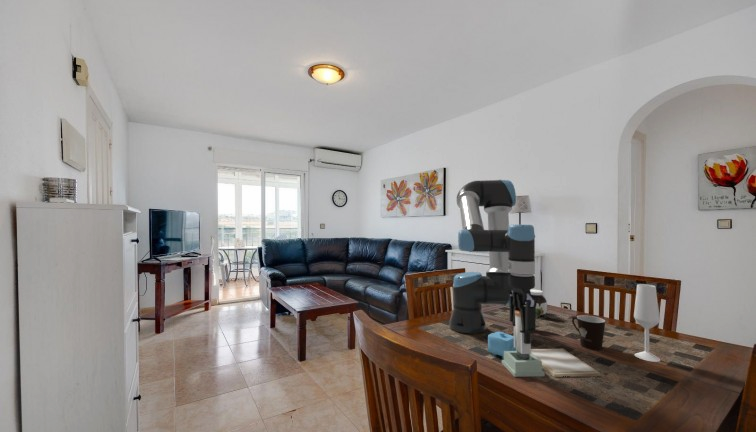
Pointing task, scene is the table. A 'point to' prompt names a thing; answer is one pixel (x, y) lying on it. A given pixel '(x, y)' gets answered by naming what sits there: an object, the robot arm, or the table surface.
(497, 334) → the blue pegged block
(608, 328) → the table surface
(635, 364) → the table surface
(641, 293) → the champagne flute
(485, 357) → the table surface
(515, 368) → the pen stand
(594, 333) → the coffee mug
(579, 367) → the sketch pad
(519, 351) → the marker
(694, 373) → the table surface
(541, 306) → the spread jar
